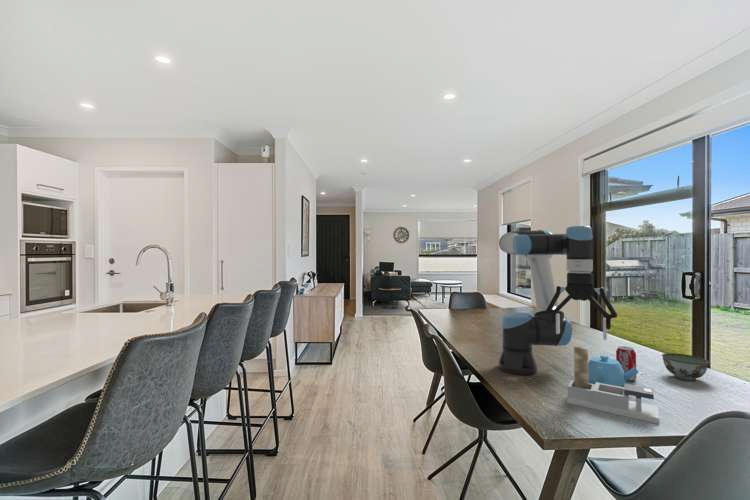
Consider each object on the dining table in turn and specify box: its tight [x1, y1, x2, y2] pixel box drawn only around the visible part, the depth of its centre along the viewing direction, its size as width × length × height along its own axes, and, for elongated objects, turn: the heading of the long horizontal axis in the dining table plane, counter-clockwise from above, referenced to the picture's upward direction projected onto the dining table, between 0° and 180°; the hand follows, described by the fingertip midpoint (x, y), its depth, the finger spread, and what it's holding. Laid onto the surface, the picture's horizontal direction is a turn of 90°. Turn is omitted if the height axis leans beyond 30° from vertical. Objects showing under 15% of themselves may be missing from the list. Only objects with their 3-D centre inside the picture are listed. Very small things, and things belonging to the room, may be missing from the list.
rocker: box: [623, 383, 655, 400], centre depth 105 cm, size 7×6×2 cm
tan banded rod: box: [573, 345, 589, 390], centre depth 114 cm, size 4×4×16 cm
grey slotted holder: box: [566, 379, 660, 424], centre depth 109 cm, size 23×10×6 cm, turn 52°
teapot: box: [588, 354, 640, 387], centre depth 125 cm, size 15×14×11 cm
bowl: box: [661, 352, 710, 382], centre depth 133 cm, size 14×13×8 cm
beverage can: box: [615, 345, 637, 382], centre depth 133 cm, size 6×6×12 cm
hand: (580, 336), depth 114 cm, fingers open, 13 cm apart
